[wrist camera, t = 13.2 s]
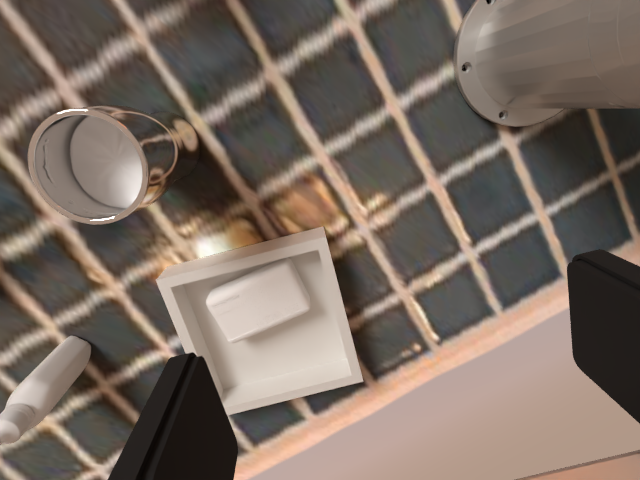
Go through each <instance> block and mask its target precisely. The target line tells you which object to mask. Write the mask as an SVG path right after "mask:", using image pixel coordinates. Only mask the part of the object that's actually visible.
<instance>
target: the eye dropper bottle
mask: <svg viewBox="0 0 640 480" xmlns="http://www.w3.org/2000/svg"><path fill="white" fill-rule="evenodd" d="M90 354H91V345H90V344H89V343H88V342H86V341H84V340H82V339H80V338H78V337H76V336H70V337H68V338H67V339H65V340H64V341H63V342H62V343H60V344H59V345H58V346H57V347H56V348H55V349H54V350H53V351H52V352H51V353H50V354H49V355H48V356H47V357H46V358H45V359H44V360H43V361H42V362H41V363H40V364H39V365H38V366H37V367H36V368H35V369H34V370H33V371H32V372H31V373H30V374H29V375H28V376H27V377H26V378H25V379H24V380H23V381H22V382H21V383H20V384H19V385H18V387H17V388H16V389H15V390H14V391H13V393H12V394H11V396H10V397H9V399H8V401H7V404H6V408H5V410H4V411H3V412H2V413H1V414H0V445H1V444H2V443H5V444H9V443H14V442H16V441H17V440H18V439H19V438H20V437H21V436H22V435H23V433H24V432H25V431H26V430H28V429H31V428H33V427H34V426H36V425H37V424H39V423H40V422H41V421H42V420H43V419H44V418H45V417H46V416H47V414H48V413H49V412H50V411H51V410H52V408H53V407H54V406H55V405H56V403H57V402H58V401H59V400H60V399H61V397H62V396H63V395H64V394H65V392H66V391H67V390H68V389H69V387H70V386H71V385H72V384H73V383H74V381H75V380H76V379H77V378H78V376H79V375H80V374H81V373H82V371H83V370H84V369H85V367H86V365H87V364H88V361H89V359H90Z"/></svg>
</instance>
